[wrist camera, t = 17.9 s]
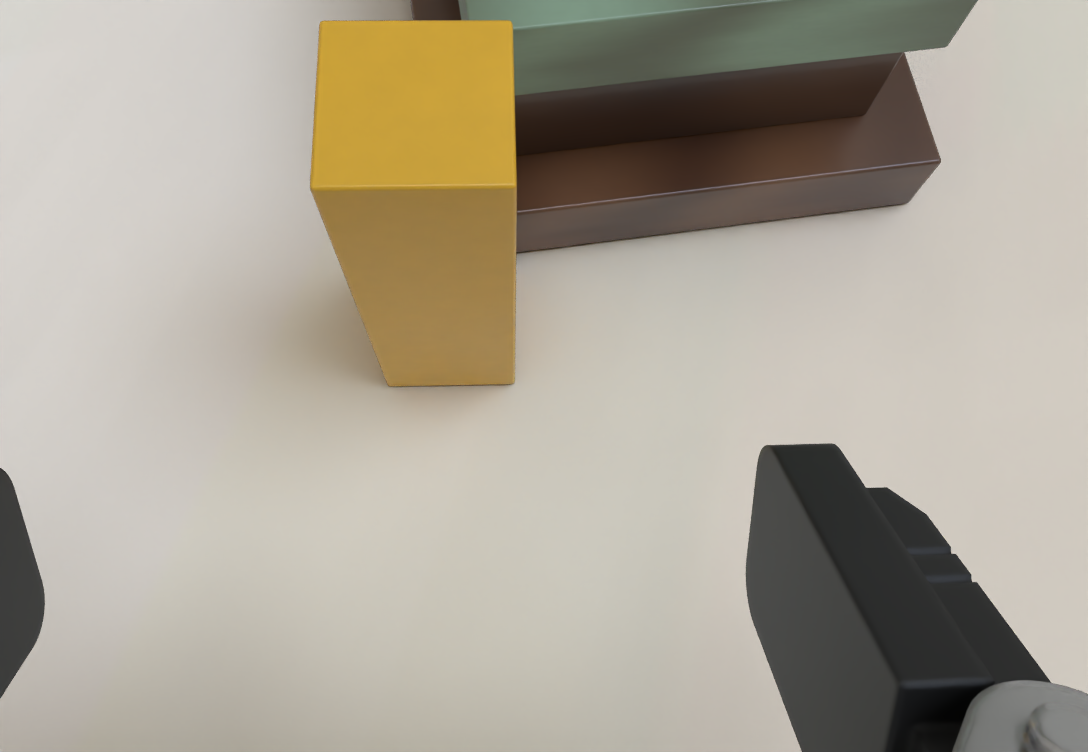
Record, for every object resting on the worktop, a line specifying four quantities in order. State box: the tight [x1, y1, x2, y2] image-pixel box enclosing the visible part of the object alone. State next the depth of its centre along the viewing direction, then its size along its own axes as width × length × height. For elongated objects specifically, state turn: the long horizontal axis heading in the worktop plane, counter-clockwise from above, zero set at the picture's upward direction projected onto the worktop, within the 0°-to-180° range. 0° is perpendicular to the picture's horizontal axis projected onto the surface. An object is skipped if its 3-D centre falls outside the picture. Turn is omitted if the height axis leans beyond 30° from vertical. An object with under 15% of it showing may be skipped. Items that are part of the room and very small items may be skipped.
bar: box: [310, 20, 517, 386], centre depth 18 cm, size 3×3×9 cm
